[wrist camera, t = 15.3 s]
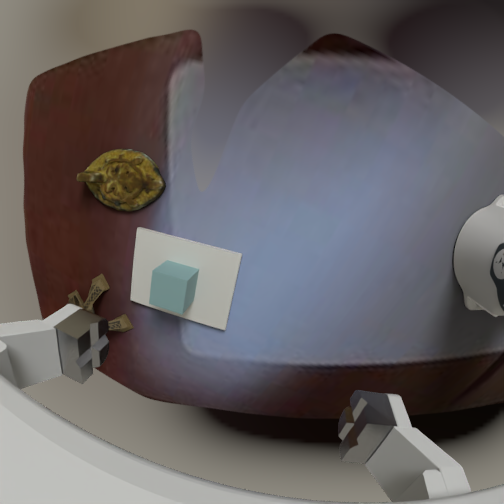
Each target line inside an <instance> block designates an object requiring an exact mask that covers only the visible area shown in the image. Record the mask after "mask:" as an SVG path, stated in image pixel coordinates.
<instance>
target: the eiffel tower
mask: <svg viewBox="0 0 504 504" xmlns="http://www.w3.org/2000/svg"><path fill="white" fill-rule="evenodd" d="M92 282H93V283H92V285H91V288H90V292H89V295H88V298H87V300H86V301H85V302H84V303H83V301H82V299H81V297H80V296H79V294H78V292H77V290H76V291H74V292H72V293H71V294H69V295H68V297H69V304H74V305H76V306H79V307H81V308H83V309H85V310H87V311H90V312H92V313H94V314H95V312H94V309H93V305H92V304H93V303H94V302H95V300H96V299H97V298H98V297H99V295H100V294H101V293H102V292H104V291H106V290H108V289H109V288H110V287H109V285H108V283H107V282H106V280H105V278H104V276H103V274H101V275H99V276H98V277H96V278H94V279H93V280H92ZM108 323H109V330H114V331H122V332H125V331H127V330H130V329H132V328H134V327H133V326H132V324H131V322H130V321H129V319H128V318H127V316H126V314H124V315H122V316H120V317H118V318H116V319H114V321H110V322H108Z"/></svg>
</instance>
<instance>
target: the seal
mask: <svg viewBox="0 0 504 504" xmlns="http://www.w3.org/2000/svg"><path fill="white" fill-rule="evenodd" d="M77 181H79V182H86V183H87V185H88V187H89V189H90V190H91V192H92V193H93V195H94V196H95V197H96V198H97V199H98V200H99V201H100V202H101V203H103V204H104V205H106V206H109V207H111V208H114V209H116V210H120V211H134V210H138V209H141V208H142V207H144V206H146V205H148V204H149V203H151V202H152V201H155V200H156V199H157V198H158V197H159V196H160V195H161V194H162V193H163V191H164V189H165V187H166V184H165V181H164V180H163V178H162V176H161V174H160V172H159V168H158V166H157V165H156V164H155V163H154V161H153V160H152V159H151V158H149V157H148V156H147V155H146V154H144V153H142V152H138V151H134V150H130V149H115V150H111V151H108V152H106V153H104V154H102V155H101V156H99V157H98V158H97V159H95V160H94V161H93V162H92V163H91V165H90V166H89V167H88V168H87V169H86V170H85V171H84V172H81V173H79V174H78V175H77Z"/></svg>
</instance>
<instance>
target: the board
mask: <svg viewBox="0 0 504 504" xmlns="http://www.w3.org/2000/svg"><path fill="white" fill-rule="evenodd" d="M241 259H242V254H241V253H237V252H233V251H230V250H226V249H222V248H218V247H214V246H210V245H207V244H203V243H199V242H195V241H191V240H187V239H184V238H180V237H176V236H172V235H168V234H164V233H161V232H157V231H153V230H149V229H145V228H142V227H139V228H137V234H136V243H135V252H134V262H133V273H132V286H131V300H132V301H134V302H137V303H140V304H143V305H146V306H149V307H152V308H155V309H158V310H161V311H164V312H167V313H170V314H173V315H176V316H179V317H182V318H186V319H189V320H192V321H195V322H198V323H202V324H205V325H208V326H212V327H215V328H219V329H222V330H225V329H226V326H227V322H228V317H229V312H230V308H231V303H232V299H233V294H234V290H235V285H236V281H237V276H238V272H239V268H240V263H241ZM167 260H169V261H172V262H176V263H179V264H183V265H186V266H190V267H194V268H197V269H199V273H198V279H197V285H196V291H195V297H194V301H193V302H192V303H191V305H190V306H189V307H188V308H187V310H186V311H185V312H184V313H183V315H182V314H179V313H176V312H172V311H169V310H166V309H163V308H160V307H157V306H154V305H151V304H149V299H150V289H151V279H152V270H154V269H155V268H157V267H158V266H159V265H161V264H162V263H164V262H165V261H167Z"/></svg>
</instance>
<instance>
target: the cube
mask: <svg viewBox="0 0 504 504" xmlns="http://www.w3.org/2000/svg"><path fill="white" fill-rule="evenodd" d="M198 273H199V269H197V268H194V267H190V266H186V265H183V264H179V263H176V262H172V261H169V260H167V261H165V262H164V263H162V264H161V265H159V266H158V267H157V268H155V269H154V270H152V279H151V289H150V299H149V304H151V305H154V306H157V307H160V308H163V309H166V310H169V311H172V312H176V313H179V314H182V315H183V313H184V312H185V311H186V310H187V308H188V307H189V306H190V305H191V303H192V302H193V301H194V297H195V291H196V285H197V279H198Z"/></svg>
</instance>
